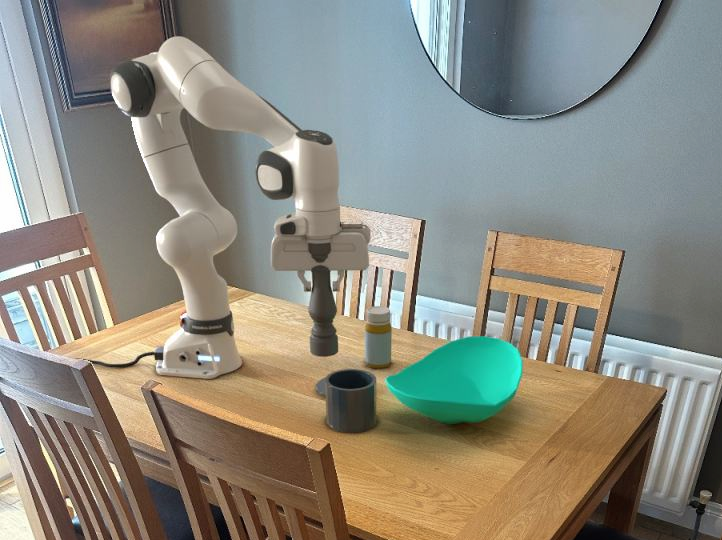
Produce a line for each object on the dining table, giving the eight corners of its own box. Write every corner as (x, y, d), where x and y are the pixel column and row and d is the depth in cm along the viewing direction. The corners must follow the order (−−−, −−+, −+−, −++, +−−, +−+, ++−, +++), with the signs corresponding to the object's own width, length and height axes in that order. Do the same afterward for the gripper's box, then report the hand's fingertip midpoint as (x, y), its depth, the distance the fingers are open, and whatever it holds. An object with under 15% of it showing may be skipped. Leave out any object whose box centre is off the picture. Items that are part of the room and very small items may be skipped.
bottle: (392, 359, 201) (392, 306, 192) (389, 369, 195) (390, 315, 187) (367, 358, 202) (366, 305, 193) (363, 368, 196) (363, 314, 187)
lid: (314, 400, 180) (313, 382, 177) (317, 379, 190) (316, 362, 187) (366, 400, 180) (365, 382, 177) (365, 379, 190) (365, 361, 188)
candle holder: (342, 347, 164) (339, 232, 149) (331, 358, 159) (327, 240, 144) (317, 344, 165) (311, 229, 151) (305, 354, 160) (299, 237, 146)
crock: (325, 433, 166) (324, 390, 160) (327, 409, 176) (326, 368, 170) (376, 432, 167) (376, 390, 160) (375, 409, 176) (375, 368, 170)
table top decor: (447, 374, 193) (450, 325, 186) (542, 402, 180) (550, 351, 172) (355, 431, 167) (354, 377, 159) (458, 469, 154) (463, 413, 146)
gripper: (370, 218, 149) (370, 285, 157) (269, 218, 149) (275, 286, 156) (370, 225, 144) (371, 295, 152) (266, 226, 143) (272, 296, 151)
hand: (321, 290), depth 154 cm, fingers closed on candle holder, 5 cm apart
